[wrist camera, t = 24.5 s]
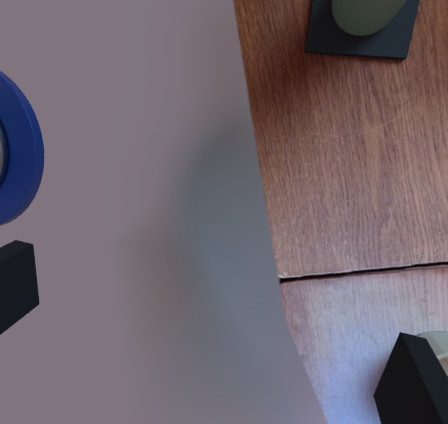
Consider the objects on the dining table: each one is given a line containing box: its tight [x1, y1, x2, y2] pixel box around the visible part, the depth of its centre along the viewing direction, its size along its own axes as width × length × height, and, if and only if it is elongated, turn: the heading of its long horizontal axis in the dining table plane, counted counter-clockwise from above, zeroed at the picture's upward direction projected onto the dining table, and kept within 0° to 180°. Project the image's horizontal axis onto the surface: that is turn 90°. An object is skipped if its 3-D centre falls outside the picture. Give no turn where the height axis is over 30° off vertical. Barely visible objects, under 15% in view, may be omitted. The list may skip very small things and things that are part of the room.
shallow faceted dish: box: [417, 331, 448, 376], centre depth 34 cm, size 10×10×4 cm
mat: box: [304, 0, 419, 60], centre depth 31 cm, size 10×10×1 cm
